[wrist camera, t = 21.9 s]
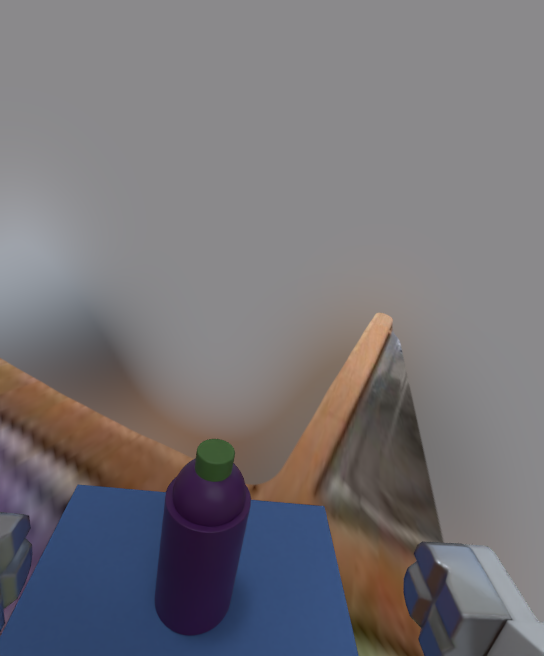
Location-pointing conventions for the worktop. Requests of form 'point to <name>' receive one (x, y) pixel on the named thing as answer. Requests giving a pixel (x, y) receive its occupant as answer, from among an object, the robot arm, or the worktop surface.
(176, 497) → the purple bottle
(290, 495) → the worktop surface
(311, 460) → the worktop surface
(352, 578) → the worktop surface
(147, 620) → the napkin
